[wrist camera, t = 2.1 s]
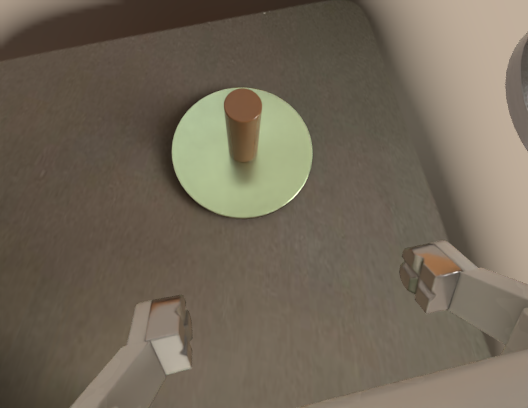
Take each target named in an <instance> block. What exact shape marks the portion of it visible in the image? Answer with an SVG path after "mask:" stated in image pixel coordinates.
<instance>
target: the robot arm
mask: <svg viewBox="0 0 528 408" xmlns="http://www.w3.org/2000/svg"><path fill="white" fill-rule="evenodd" d="M402 257H403V259H404V260H405V261H404V262H403V263H402V264H401V265H400V271H399V273H400V278H401V281H402V283H403V285H404V286H405V288H406V289H407V290H408V291H410V292H412V293H414V294H415V300H416V302H417V303H418V304H419V305H420V307H421V308H422V309H423V310H424V312H425V313H426V314H429V313H434V312H439V311H444V310H448V309H449V311H450V312H452V313H453V314H455V315H457V316H458V317H460V318H462V319H463V320H465V321H467V322H468V323H470V324H472V325H473V326H475V327H477V328H478V329H480V330H482V331H483V332H485V333H487V334H488V335H490V336H491V337H493V338H495V339H497V340H499V341H500V342H501V343H503V344H505V347H504V349H503V351H502V353H501V355H499V356H496V357H492V358H488V359H484V360H480V361H476V362H472V363H468V364H464V365H460V366H457V367H453V368H449V369H445V370H441V371H437V372H433V373H429V374H425V375H421V376H417V377H414V378H410V379H406V380H402V381H398V382H394V383H390V384H386V385H382V386H378V387H374V388H371V389H367V390H363V391H359V392H355V393H351V394H347V395H343V396H340V397H336V398H332V399H328V400H324V401H320V402H316V403H312V404H309V405H305V406H301V407H297V408H528V284H525V283H523V282H520V281H517V280H514V279H512V278H509V277H506V276H504V275H501V274H498V273H496V272H492V271H490V270H488V269H485V268H477V267H476V266H475V265H474V264H473V263H472V262H471V261H469V260H468V259H467V258H466V257H465V256H463V255H462V254H461V253H460V252H459V251H458V250H457V249H456V248H454V247H453V246H452V245H451V244H450V243H449V242H447V241H445V240H441V241H437V242H432V243H428V244H423V245H418V246H414V247H409V248H405V249H404V251H403V254H402ZM191 340H192V322H191V317H190V313H189V311H188V310H186V301H185V299H184V296H183V295H177V296H172V297H166V298H161V299H155V300H152V301H146V302H141V303H137V305H136V306H135V309H134V314H133V318H132V323H131V327H130V332H129V336H128V341H127V346H123V347H121V348H120V350H119V351H118V352H117V353H116V354H115V355H114V357H113V358H112V359H111V360H110V361H109V362H108V364H107V365H106V366H105V367H104V368H103V369H102V370H101V372H100V373H99V374H98V375H97V376H96V377H95V379H94V380H93V381H92V382H91V383H90V384H89V386H88V387H87V388H86V389H85V390H84V391H83V393H82V394H81V395H80V396H79V397H78V398H77V400H76V401H75V402H74V403H73V404H72V405H71V407H70V408H149V407H150V405H151V403H152V401H153V399H154V398H155V396H156V394H157V392H158V391H159V389H160V387H161V385H162V383H163V382H164V380H165V378H166V375H169V374H173V373H177V372H181V371H185V370H189V369H192V348H191V345H190V341H191Z"/></svg>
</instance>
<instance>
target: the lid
mask: <svg viewBox="0 0 528 408" xmlns="http://www.w3.org/2000/svg"><path fill="white" fill-rule="evenodd" d="M312 158H313V148H312V142H311V137H310V134H309V131H308V129H307V127H306V125H305V123H304V121H303V120H302V118H301V117H300V115H299V114H298V113H297V112H296V111H295V109H293V108H292V107H291V106H290V105H289V104H288V103H287V102H285V101H284V100H282V99H281V98H279V97H277V96H275V95H273V94H271V93H269V92H266V91H263V90H259V89H254V88H243V87H239V88H229V89H224V90H220V91H217V92H214V93H212V94H210V95H207V96H206V97H204V98H202V99H201V100H199V101H198V102H197V103H195V104H194V105H193V106H192V107H191V108H190V109H189V110H188V111H187V112H186V113H185V115H184V116H183V117H182V119H181V121H180V122H179V124H178V126H177V128H176V131H175V134H174V138H173V142H172V162H173V167H174V170H175V173H176V176H177V178H178V180H179V182H180V184H181V185H182V187H183V188H184V190H185V191H186V192H187V194H188V195H189V196H190V197H191V198H192V199H193V200H194V201H195V202H197V203H198V204H199V205H200V206H202V207H203V208H205V209H207V210H208V211H210V212H213V213H215V214H217V215H221V216H224V217H228V218H235V219H250V218H257V217H262V216H265V215H268V214H271V213H273V212H275V211H277V210H279V209H281V208H282V207H284V206H285V205H287V204H288V203H289V202H290V201H291V200H292V199H293V198H294V197H296V195H297V194H298V193H299V192H300V190H301V189H302V187H303V185H304V184H305V182H306V180H307V178H308V175H309V173H310V169H311V166H312Z"/></svg>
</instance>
